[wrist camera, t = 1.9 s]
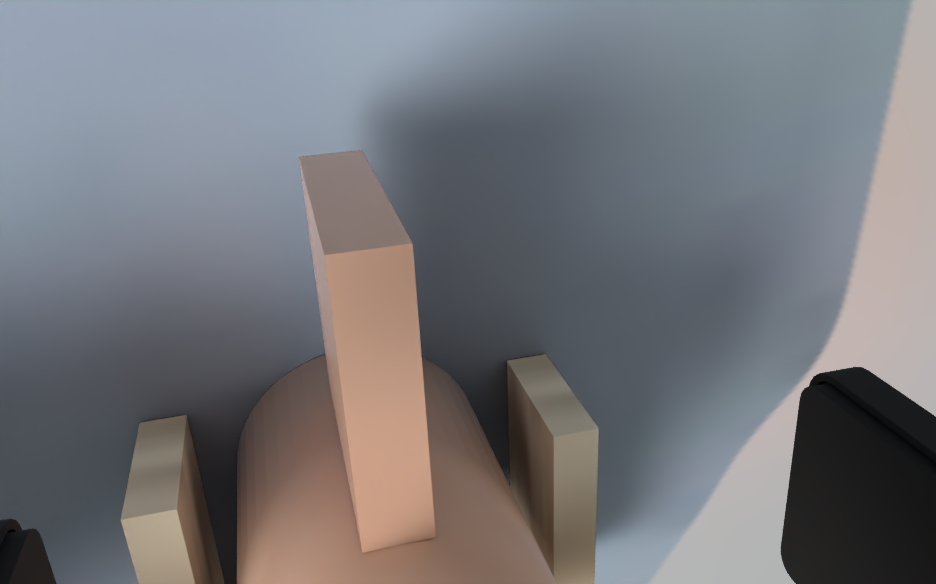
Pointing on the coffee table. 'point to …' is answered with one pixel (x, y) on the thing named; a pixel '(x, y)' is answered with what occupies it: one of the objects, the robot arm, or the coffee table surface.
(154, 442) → the holder
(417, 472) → the peach cylinder
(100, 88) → the coffee table surface
